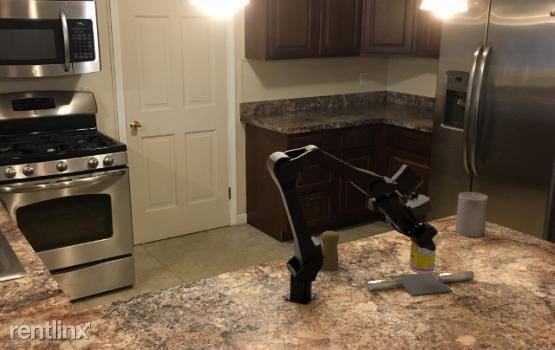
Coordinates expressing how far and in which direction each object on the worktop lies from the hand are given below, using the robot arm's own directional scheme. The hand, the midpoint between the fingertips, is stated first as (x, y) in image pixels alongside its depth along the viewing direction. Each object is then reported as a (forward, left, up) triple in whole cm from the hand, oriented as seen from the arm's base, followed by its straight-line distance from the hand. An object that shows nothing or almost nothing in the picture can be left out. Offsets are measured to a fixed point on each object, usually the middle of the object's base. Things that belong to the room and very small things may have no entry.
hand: (428, 245), depth 153 cm
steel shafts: (-1, +1, -11) cm, 12 cm away
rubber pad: (-1, +1, -11) cm, 12 cm away
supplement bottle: (-1, +1, -7) cm, 7 cm away
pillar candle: (+50, -6, -12) cm, 51 cm away
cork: (-1, +28, -12) cm, 30 cm away
